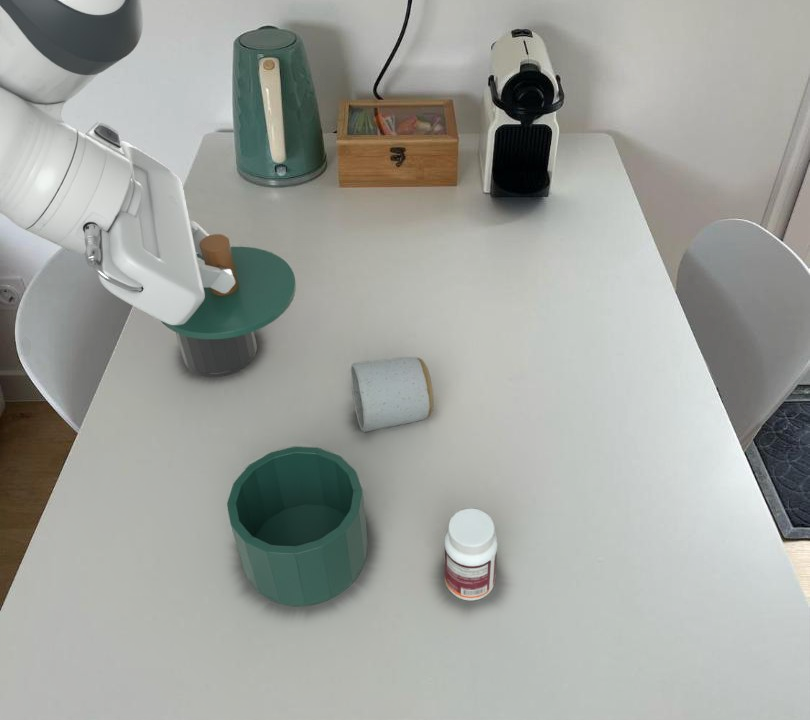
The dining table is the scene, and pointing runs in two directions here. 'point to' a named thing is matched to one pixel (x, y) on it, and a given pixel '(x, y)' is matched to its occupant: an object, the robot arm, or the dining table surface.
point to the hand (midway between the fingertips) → (227, 270)
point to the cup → (217, 354)
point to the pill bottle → (470, 554)
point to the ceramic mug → (391, 392)
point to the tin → (299, 525)
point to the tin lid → (240, 292)
